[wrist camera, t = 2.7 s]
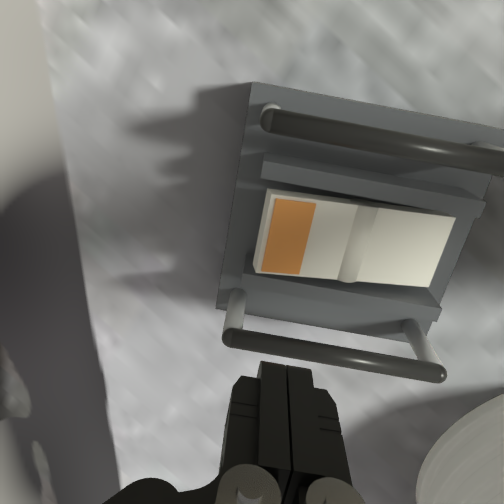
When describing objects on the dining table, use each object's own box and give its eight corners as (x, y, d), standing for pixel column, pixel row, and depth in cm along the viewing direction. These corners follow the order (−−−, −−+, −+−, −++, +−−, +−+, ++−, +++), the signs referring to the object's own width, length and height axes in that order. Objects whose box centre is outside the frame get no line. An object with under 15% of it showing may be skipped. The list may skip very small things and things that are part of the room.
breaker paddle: (442, 209, 27) (458, 219, 25) (417, 276, 29) (431, 289, 27) (266, 186, 24) (272, 195, 23) (251, 262, 26) (256, 275, 25)
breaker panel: (480, 124, 29) (578, 145, 19) (406, 317, 35) (454, 402, 26) (254, 81, 28) (245, 82, 19) (221, 284, 34) (202, 359, 25)
